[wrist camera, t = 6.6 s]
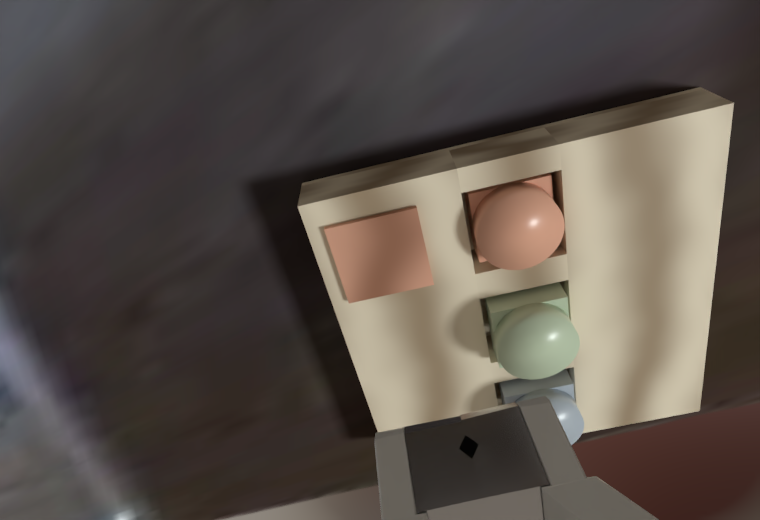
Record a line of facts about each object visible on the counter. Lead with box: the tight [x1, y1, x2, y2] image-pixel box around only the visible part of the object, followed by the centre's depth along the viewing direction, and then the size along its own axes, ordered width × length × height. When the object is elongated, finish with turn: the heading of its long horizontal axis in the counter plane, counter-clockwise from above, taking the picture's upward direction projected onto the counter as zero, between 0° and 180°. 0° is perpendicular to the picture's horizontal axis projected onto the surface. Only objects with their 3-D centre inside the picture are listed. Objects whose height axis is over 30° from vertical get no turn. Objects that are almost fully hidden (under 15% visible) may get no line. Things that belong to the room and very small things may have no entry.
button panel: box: [297, 87, 734, 433], centre depth 34 cm, size 22×22×3 cm
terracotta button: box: [464, 173, 565, 270], centre depth 30 cm, size 5×5×3 cm
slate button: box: [499, 369, 584, 445], centre depth 36 cm, size 5×5×3 cm
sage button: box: [485, 282, 580, 380], centre depth 32 cm, size 5×5×3 cm
